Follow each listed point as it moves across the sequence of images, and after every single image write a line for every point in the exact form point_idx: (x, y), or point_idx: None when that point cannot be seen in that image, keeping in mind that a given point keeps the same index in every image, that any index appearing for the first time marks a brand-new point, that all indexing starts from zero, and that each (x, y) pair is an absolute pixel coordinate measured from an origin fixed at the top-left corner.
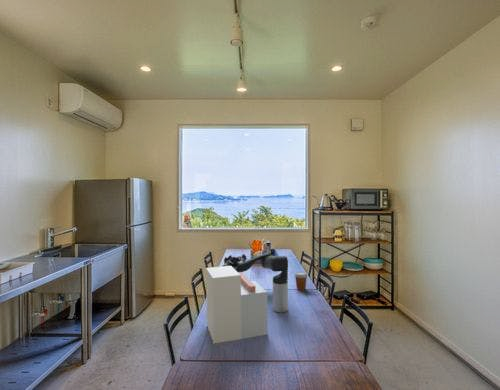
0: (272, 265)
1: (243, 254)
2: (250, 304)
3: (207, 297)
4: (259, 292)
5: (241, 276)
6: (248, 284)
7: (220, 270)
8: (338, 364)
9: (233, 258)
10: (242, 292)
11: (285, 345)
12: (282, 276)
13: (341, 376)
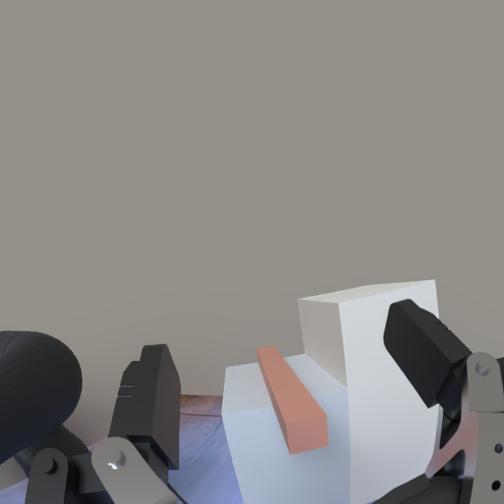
0: (80, 372)
1: (164, 347)
2: None
3: None
4: (249, 364)
5: (290, 381)
6: (275, 350)
7: (367, 290)
8: (181, 409)
9: (406, 491)
10: (299, 360)
11: (226, 438)
12: (60, 425)
13: (195, 400)
